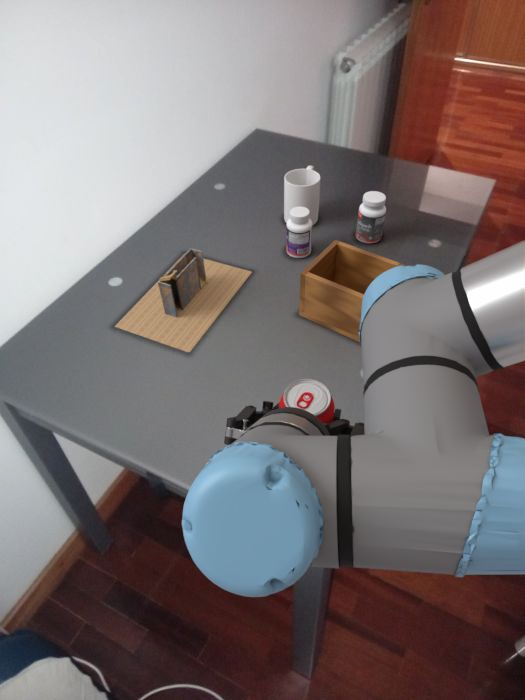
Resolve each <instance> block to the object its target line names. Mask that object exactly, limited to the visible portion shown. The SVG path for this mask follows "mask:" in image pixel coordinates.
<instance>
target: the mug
mask: <svg viewBox="0 0 525 700" xmlns="http://www.w3.org/2000/svg"><path fill="white" fill-rule="evenodd" d="M283 184H284V185H283V193H284V194H283V219H284V222H285V223H286V224H287V221H288V219H290V210H291V209H292V208H294V207H305V208H307V209H309V211H310V217H309V218H310V219H311V221H312V227H313V226H314V225H316V224H317V222H318V220H319V210H320V209H319V208H320V193H321V175H320V173H319V172H318V171H316V170H315V167H314V165H307V167H306V168H295V169H291V170H289V171H287V172H286V173H285V174H284V177H283Z"/></svg>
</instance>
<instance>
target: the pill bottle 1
mask: <svg viewBox="0 0 525 700" xmlns="http://www.w3.org/2000/svg"><path fill="white" fill-rule="evenodd" d="M309 217H310V211H309V209H307V208H305V207H294V208H292V209H291V210H290V219H288V221H287V223H286V233H285V234H286V237H285V239H286V242H285V243H286V246H285V247H286V249H285V250H286V253H287V255H289V257H292V258H295V259H304V258H307V257H309V255H311V252H312V244H313V243H312V242H313V241H312V240H313V226H312V221H311V219H310V218H309Z"/></svg>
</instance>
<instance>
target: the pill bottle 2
mask: <svg viewBox="0 0 525 700" xmlns="http://www.w3.org/2000/svg"><path fill="white" fill-rule="evenodd" d="M386 200H387V196H386V194H385V193H383V192H381V191H377V190H370V191H366V192H365V193H364V194H363V195H362V203H361V204H359V207H358V214H357V221H356V229H355V238H356V240H358V241H359V242H361V243H363V244H375V243H378V242H379V241H381V239H382V237H383V231H384V226H385V225H384V224H385V220H386V215H387V207H386V205H385V204H386Z"/></svg>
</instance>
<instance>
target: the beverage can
mask: <svg viewBox="0 0 525 700" xmlns="http://www.w3.org/2000/svg"><path fill="white" fill-rule="evenodd" d="M279 402H280V403H279ZM279 402H278V403H279V408H283V407H295V408H300V409H303V410H306V411H308V412H310V413H312V414H313V415H315V416H316V417H317V418H318V419H319V420H320V421H321V422H322V423H325V424H327V423H330V422H333V418H334V412H335V409H336V408H335V401H334V399H333V396H332V394H331V392H330V389H328V387H327V386H326V385H325V384H324V383H322V382H321V381H318V380H317V379H313V378H301V379H297V380H295V381H293V382H291V383H290V384H288V385H287V387H286V388H285V390H284V392H283V394H282V395H281V397H280V399H279Z"/></svg>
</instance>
